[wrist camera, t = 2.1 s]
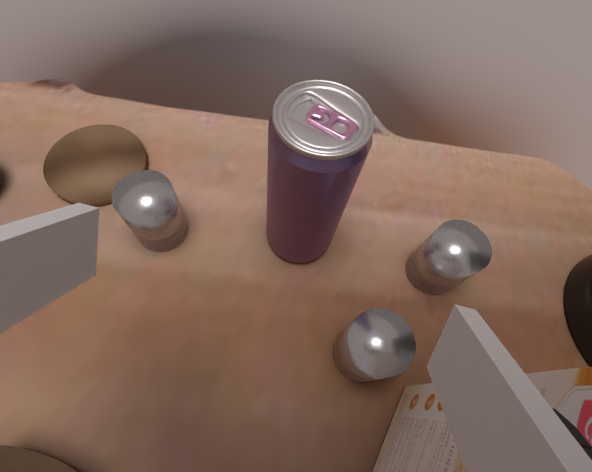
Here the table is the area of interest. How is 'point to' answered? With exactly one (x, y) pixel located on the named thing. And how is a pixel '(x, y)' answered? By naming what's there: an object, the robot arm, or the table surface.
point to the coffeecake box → (436, 433)
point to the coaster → (93, 163)
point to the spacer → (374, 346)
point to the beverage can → (313, 164)
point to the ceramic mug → (29, 461)
